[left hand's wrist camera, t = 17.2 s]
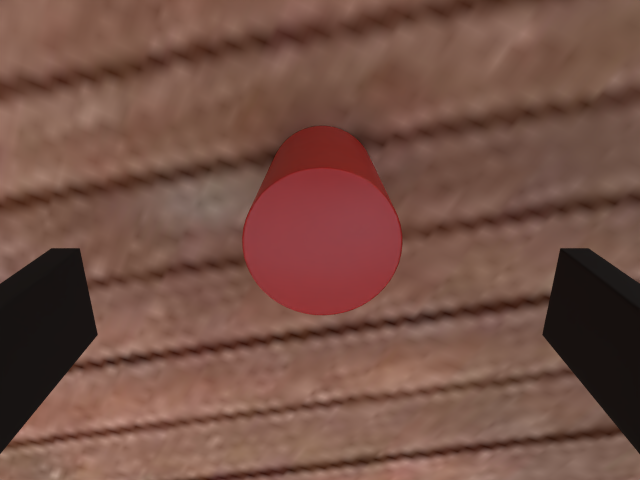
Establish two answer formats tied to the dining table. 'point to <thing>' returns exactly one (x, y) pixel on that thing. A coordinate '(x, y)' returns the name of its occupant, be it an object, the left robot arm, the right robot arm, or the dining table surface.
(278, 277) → the can
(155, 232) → the dining table surface
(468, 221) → the dining table surface
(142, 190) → the dining table surface
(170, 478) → the dining table surface
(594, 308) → the left robot arm
